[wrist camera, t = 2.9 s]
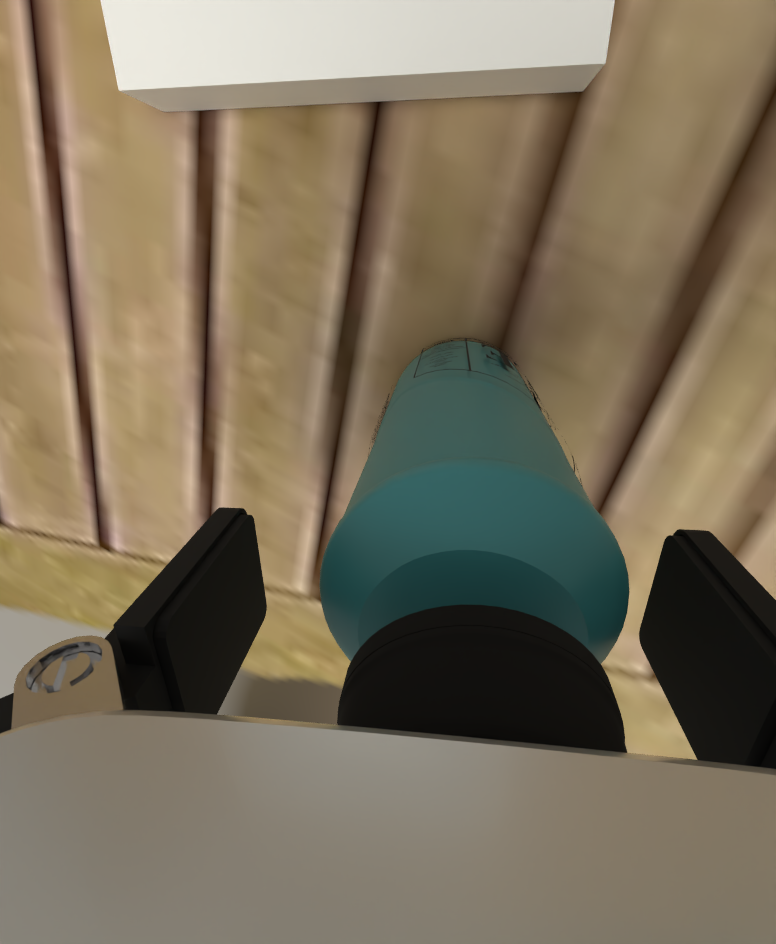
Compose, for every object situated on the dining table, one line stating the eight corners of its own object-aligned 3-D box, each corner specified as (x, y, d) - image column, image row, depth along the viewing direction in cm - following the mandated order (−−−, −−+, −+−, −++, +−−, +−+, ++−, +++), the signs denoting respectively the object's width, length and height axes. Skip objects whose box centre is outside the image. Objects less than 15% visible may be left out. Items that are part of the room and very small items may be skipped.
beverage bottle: (374, 425, 25) (160, 890, 7) (429, 303, 22) (310, 549, 4) (485, 476, 25) (563, 1041, 7) (553, 363, 22) (968, 835, 4)
